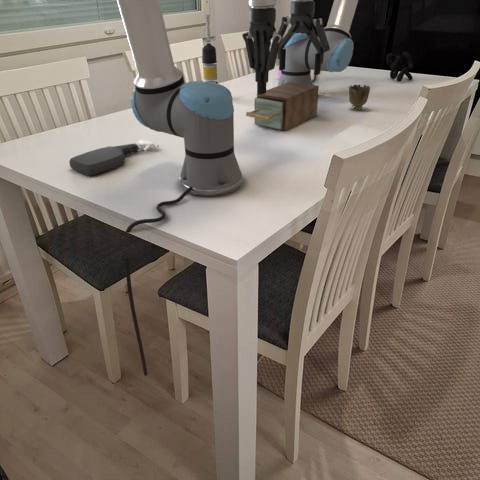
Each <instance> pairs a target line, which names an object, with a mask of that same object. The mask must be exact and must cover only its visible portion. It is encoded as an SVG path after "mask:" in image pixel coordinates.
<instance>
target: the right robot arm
mask: <svg viewBox="0 0 480 480" xmlns="http://www.w3.org/2000/svg"><path fill="white" fill-rule="evenodd" d="M358 3H359V0H333V4H332V6H331V10H330V13H329V17H328V21H327V24H326V26H325V27H324V19H323V18H322V17H320V18H315V9H316V1H315V0H292V1H291V2H290V17H289V16H288V15H287V16H282V17H281V22H280V26H279V29H278V31H277V33H278V34H279V35H282V36H283V39H282V41H281V43H280V45H279V49H278V54H277V60H278V62H279V63H278V71H279V70H281V77H280V79H278V83H277V86H280V85H283V84H285V83H288V82H297V83H304V84H311V85H314V84H313V83H314V82H315V81H316V79H317V76H318V75H320V74H321V72H328V73H341V72H343V71H345V70H346V69H347V67H348V66H349V65H350V62H351V60H352V57H353V53H354V52H353V51H354V48H355V46H354V41H353V40H352V35H351V33H350V30H351V26H352V24H353V23H352V22H353V20H354V16H355V14H356V9H357V7H358ZM289 25H290V27H289ZM313 26H314V27H315V29H314V27H313ZM288 27H289V29H288ZM287 29H288V30H287ZM315 30H316V31H315ZM286 31H287V32H286ZM316 33H317V34H316ZM312 71H313V79H312V76H311V74H312V73H311V72H312Z"/></svg>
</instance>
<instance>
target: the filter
mask: <svg viewBox="0 0 480 480" xmlns="http://www.w3.org/2000/svg"><path fill="white" fill-rule="evenodd" d="M210 17H211V14H204V18H205V27H206V29H205V30H206V31H205V33H206V39H207V40H206V42H207V43H206V45H204V46H202V49H201V50H202V51H201V52H202V54H201V55H202V57H201V58H202V61H201V63H202V71H203V72H202V73H203V74H202V75H203V81H206V82H214V83H217V84H219V82H218V81H216V80H218V64H216V63H218V61H217V48H216V47H215V46H214V45H212V43H210V42H211V40H210V39H211V31H210V29H211V28H210Z"/></svg>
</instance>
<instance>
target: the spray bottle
mask: <svg viewBox="0 0 480 480" xmlns="http://www.w3.org/2000/svg"><path fill="white" fill-rule="evenodd" d="M159 148H160V145H159V144H158V143H155V142H151V141H148V140H144V139H139V140H138V141H137V142H135V143H129V144H128V143H126V144H122V145H113V146H105V147H100V148H97V149H94V150H90V151H87V152H83V153H81V154H78V155H74V156H73V157H70V159H69V161H68V162H69V167H70V168H71V169H72V170H74V171H75V172H78V173H81V174H83V175H85V176H89V177H90V176H91V177H92V176H95V175H99V174H102V173H105V172H107V171H110V170H113V169H116V168H118V167H120V166H122V165H123V164H124V163H125V158H126V156H127V155H131V154H133V153H138V151H140V150H143V151H144V152H146V151H147V150H149V149H159Z"/></svg>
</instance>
